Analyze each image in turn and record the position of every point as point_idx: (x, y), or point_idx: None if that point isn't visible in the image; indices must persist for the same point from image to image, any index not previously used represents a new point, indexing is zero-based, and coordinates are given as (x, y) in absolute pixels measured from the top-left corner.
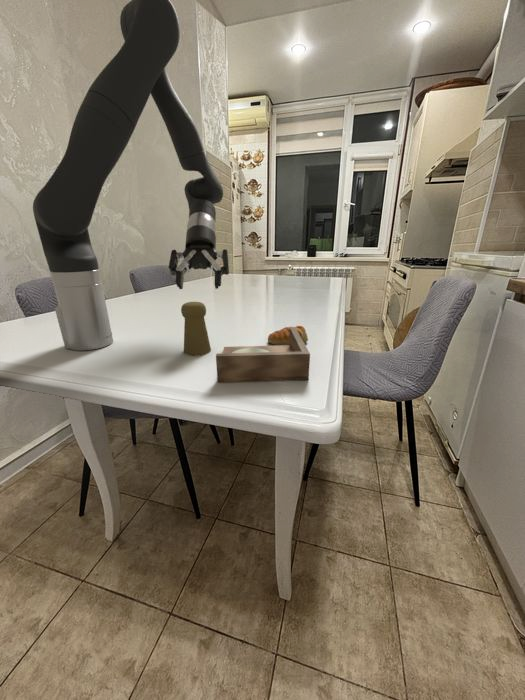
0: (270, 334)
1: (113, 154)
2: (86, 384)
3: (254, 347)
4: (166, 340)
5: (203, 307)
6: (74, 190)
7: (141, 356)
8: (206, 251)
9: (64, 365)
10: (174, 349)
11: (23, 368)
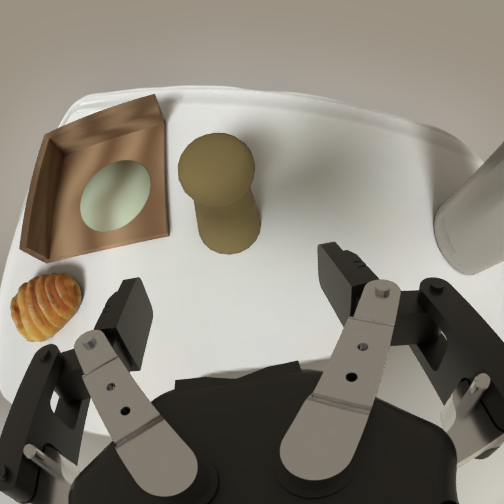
0: (68, 296)
1: None
2: (339, 103)
3: (105, 237)
4: None
5: (180, 157)
6: None
7: (335, 184)
8: (133, 468)
9: (420, 150)
10: (287, 227)
11: (452, 144)
